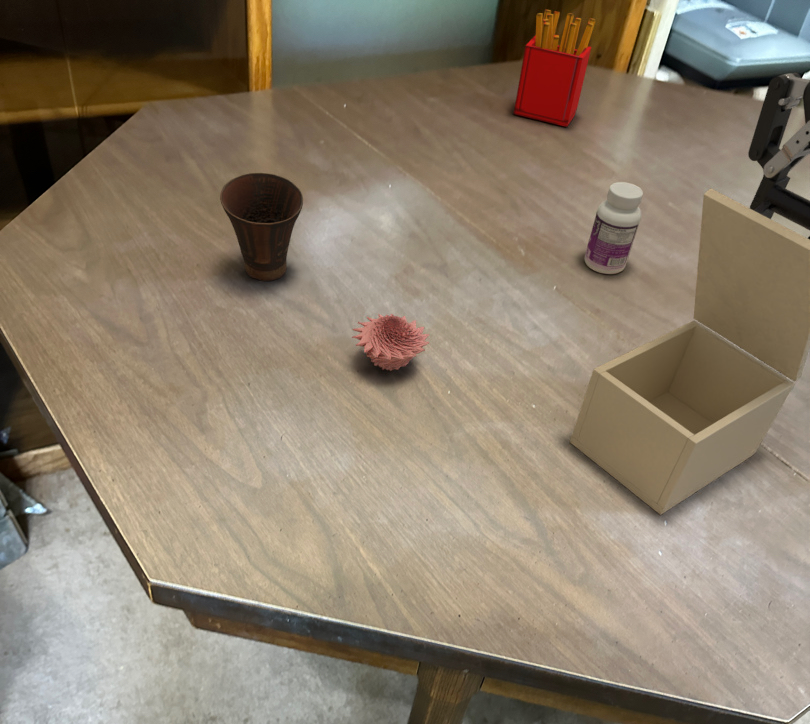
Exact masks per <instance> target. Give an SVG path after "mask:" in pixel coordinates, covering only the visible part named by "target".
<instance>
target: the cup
mask: <svg viewBox="0 0 810 724" xmlns="http://www.w3.org/2000/svg"><path fill="white" fill-rule="evenodd" d="M219 194H220V195H219V200H220V204H221V206H222V208H223V211H224V213H225V214H226V216H227V217H228V219H229V221H230V223H231V225H232V228H233V230H234V234H235V236H236V240H237V242H238V246H239V250H240V253H241V257H242V260H243V267H244V270H245V272H246V273H247V275H248V276H250V277H251V278H252V279H257V280H258V281H261V282H270V281H275V280H279V279H281V278H282V277H283V276H284V275H285V273H286V271H287V258H288V252H289V247H290V242H291V237H292V233H293V230H294V227H295V224H296V222H297V220H298V218H299V216H300V214H301V211H302V209H303V204H304V197H303V193H302V191H301V189H300V188H299V187H298V185H296V184H295V183H294V182H293V181H292V180H290V179H288V178H286V177H284V176H280V175H277V174H273V173H267V172H250V173H246V174H245V173H244V174H241V175H238V176H236V177H234V178H232V179H230V180H229V181H227V182H226V183H225V184H224V185H223V187H222V188H221V190H220V193H219Z"/></svg>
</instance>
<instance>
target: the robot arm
mask: <svg viewBox="0 0 810 724" xmlns="http://www.w3.org/2000/svg"><path fill="white" fill-rule="evenodd" d="M801 100H802V101H803V112H804V113H803V114H804V123H805V124H804V125H803V126H802V127H800V129H799V130H797V131H796V132H795V133H794V134H793V135H792V136H791V137H790V138H789V139H788V140H787V141H786V142H785V143H784V144H783V145H782V147H781V144H782V141H783V138H784V134H785V131H786V129H787V125H788V123H789V119H790V116H791V113H792V110H793V109H795V108H796V107H797V106H798V105H799V104H800V103H801ZM752 135H753V136H752V139H751V142H750V146H749V148H748V153H747V155H748V158H749V159H750V160H751V161H752V162H757V163H758V165H759V166H760V167H761V168H762V173H763V175H762V178H761V180H760V183H759V185H758V188H757V190H756V192H755V195H754V196H753V198H752V201H751V202H750V205H749V208H750V209H752V210H755V209H756V208H757V207H758V206H759V205H760V204H762V203H763V200H764V198H765V196H766V194H767V193H768V191H769V190H770V189H771V188H772V187H773V186H774V185H779V186H781V187H783V188H785V189H787V186H788V184H789V182H790V181H791V177H790V176H788V175H789V172H791V171H792V170H793V169H794V168H795V167H797V166H798V164H800V163H801V162H802V161H803V160H804V159H805V158H806V157H807V156H809V155H810V79H807V78H804V77H803V78H802V76H801V75H800V74H799V73H798V72H791V73H785V74H781V75H778V76H774V77H772V79H771V80H770V81H769V83H768V87H767V90H766V94H765V96H764V99H763V103H762V106H761V110H760V113H759V116H758V119H757V122H756V125H755V129H754V133H753V134H752ZM780 147H781V148H780ZM774 214H775V212H773V211H771V210H770V211H769V212H768V213H767V214H766V215H765V217H767V218H769V219H771V220H772V218H773V216H774Z"/></svg>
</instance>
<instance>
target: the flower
mask: <svg viewBox="0 0 810 724" xmlns="http://www.w3.org/2000/svg"><path fill="white" fill-rule="evenodd" d="M377 316H378V317H377V318H373V317H369V316H366V319H367V320H368V321H363V322H361V321H357V324H358V325H361V326H362V327H356V328H352V329H351V330H353V332H357V333H359V334H356V335H353V336H351V339H356V340H359V342H357V343H356V344H355V347H363V349H364V351H363V352H364V354H365V353H366V357H368V358H370V362H372V363H373V366H374V367H379V368H381V370H382V371H384V370H386V371H390V372H392V371H393V370H396V371H398V370H400V368H402V367H404V368H405V367H407V365H409V363H410V361H412V360H413V358H416V357H417V355H418V354H420V353H422V352H425V351H426V350H425V349H424V348H423V347H425V346H427V345H429V344H430V341H426V340H427V338H428V337H430V333H423V332H424V330H425V326H419V327H417V320H416V319H415V320H414V319H413V320H412V321H411V322H408V320H407V318H406V316H405V315H403V316H402V317H400V316H398V315H394V313H390V315H388V314H385V316H384V315H382V314H380V313H377Z"/></svg>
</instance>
